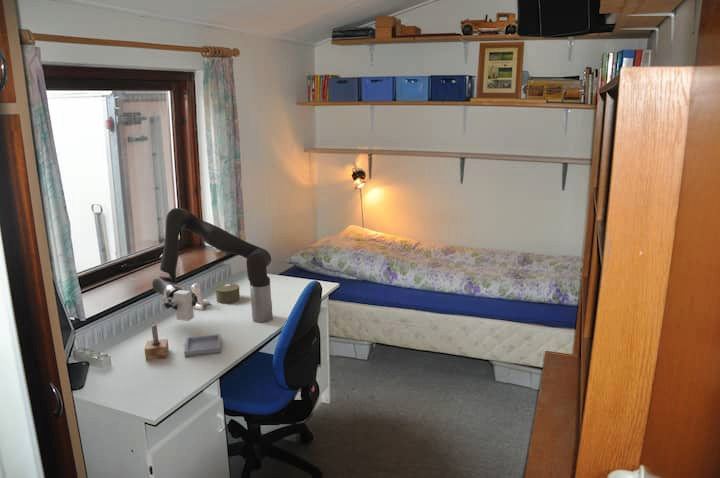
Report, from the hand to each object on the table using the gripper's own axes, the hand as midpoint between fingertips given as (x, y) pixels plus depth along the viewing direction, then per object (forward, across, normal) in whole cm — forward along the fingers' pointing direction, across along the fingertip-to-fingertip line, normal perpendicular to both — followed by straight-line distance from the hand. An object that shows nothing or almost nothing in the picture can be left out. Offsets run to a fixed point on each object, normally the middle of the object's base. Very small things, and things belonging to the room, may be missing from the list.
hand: (185, 305), depth 233 cm
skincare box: (-2, 0, +7) cm, 7 cm away
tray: (+6, +4, +18) cm, 19 cm away
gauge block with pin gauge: (+2, -14, +18) cm, 22 cm away
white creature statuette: (-42, +17, +18) cm, 49 cm away
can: (-42, +33, +18) cm, 57 cm away
